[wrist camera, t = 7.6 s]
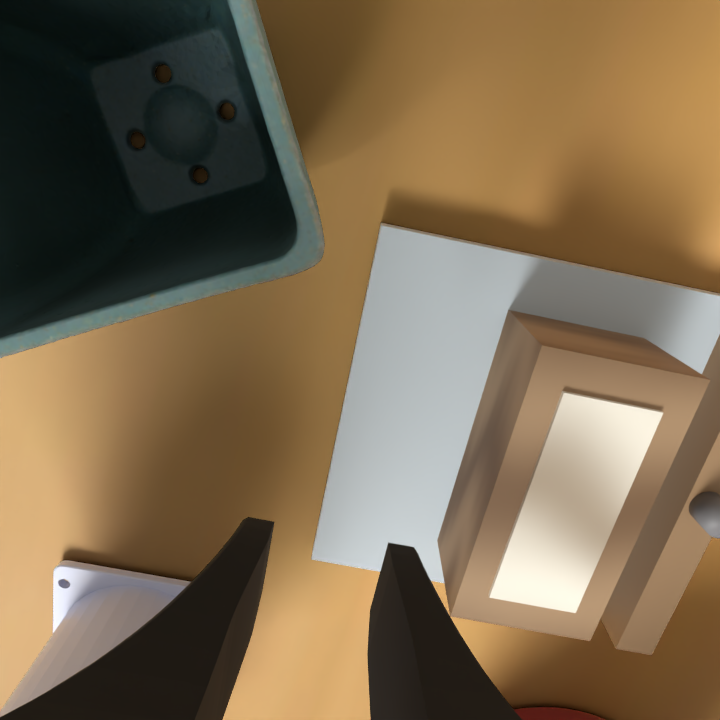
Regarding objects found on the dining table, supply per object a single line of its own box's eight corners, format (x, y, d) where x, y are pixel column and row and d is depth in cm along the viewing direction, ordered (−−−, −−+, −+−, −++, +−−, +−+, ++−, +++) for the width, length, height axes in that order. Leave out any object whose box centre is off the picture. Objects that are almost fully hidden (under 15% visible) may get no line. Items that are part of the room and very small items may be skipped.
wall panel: (619, 598, 24) (664, 677, 21) (313, 543, 24) (302, 615, 20) (756, 301, 20) (847, 333, 16) (380, 222, 19) (383, 236, 15)
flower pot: (350, 221, 19) (333, 265, 11) (122, 288, 20) (-60, 376, 12) (268, -68, 16) (157, -319, 8) (7, 26, 17) (-342, -108, 9)
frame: (553, 561, 23) (591, 644, 19) (437, 540, 22) (451, 619, 18) (643, 338, 19) (713, 381, 15) (508, 309, 19) (543, 347, 15)
